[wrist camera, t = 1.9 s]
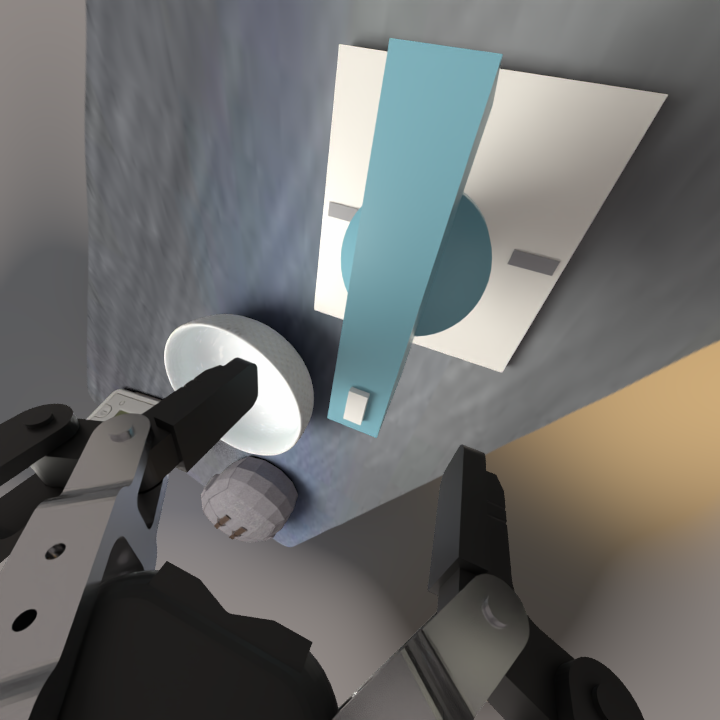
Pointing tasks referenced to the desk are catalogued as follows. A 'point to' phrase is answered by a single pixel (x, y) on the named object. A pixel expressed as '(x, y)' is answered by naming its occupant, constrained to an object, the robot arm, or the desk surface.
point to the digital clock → (123, 405)
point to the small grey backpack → (249, 500)
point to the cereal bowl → (275, 377)
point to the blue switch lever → (413, 223)
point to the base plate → (495, 189)
